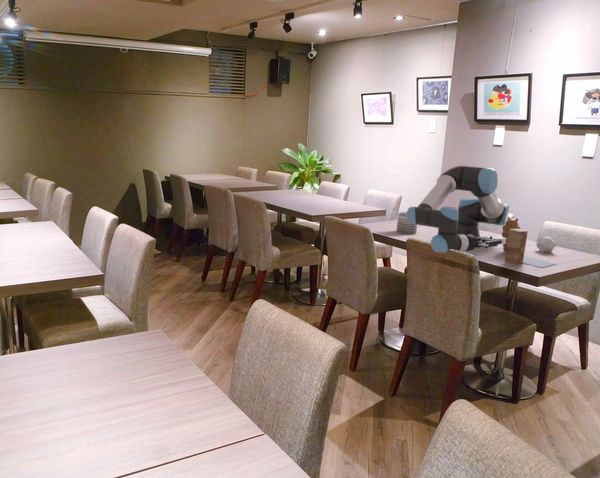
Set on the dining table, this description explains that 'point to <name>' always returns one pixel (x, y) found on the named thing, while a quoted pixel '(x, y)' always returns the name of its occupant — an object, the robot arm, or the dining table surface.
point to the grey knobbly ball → (546, 244)
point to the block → (516, 246)
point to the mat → (537, 262)
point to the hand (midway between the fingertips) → (504, 240)
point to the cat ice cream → (509, 225)
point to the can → (405, 225)
